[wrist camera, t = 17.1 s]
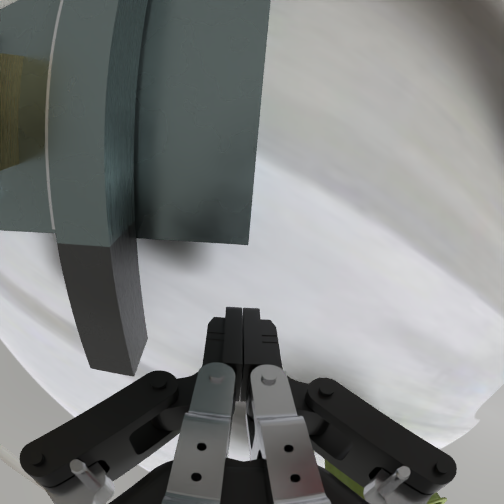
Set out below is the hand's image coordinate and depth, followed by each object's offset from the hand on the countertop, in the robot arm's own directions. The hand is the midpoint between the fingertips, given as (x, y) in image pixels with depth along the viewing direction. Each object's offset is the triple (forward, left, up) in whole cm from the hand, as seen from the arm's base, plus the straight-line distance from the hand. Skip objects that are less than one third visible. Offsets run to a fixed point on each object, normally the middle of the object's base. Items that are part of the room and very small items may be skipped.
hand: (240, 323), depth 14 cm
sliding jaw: (+7, -7, -2) cm, 9 cm away
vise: (+11, -10, -3) cm, 15 cm away
